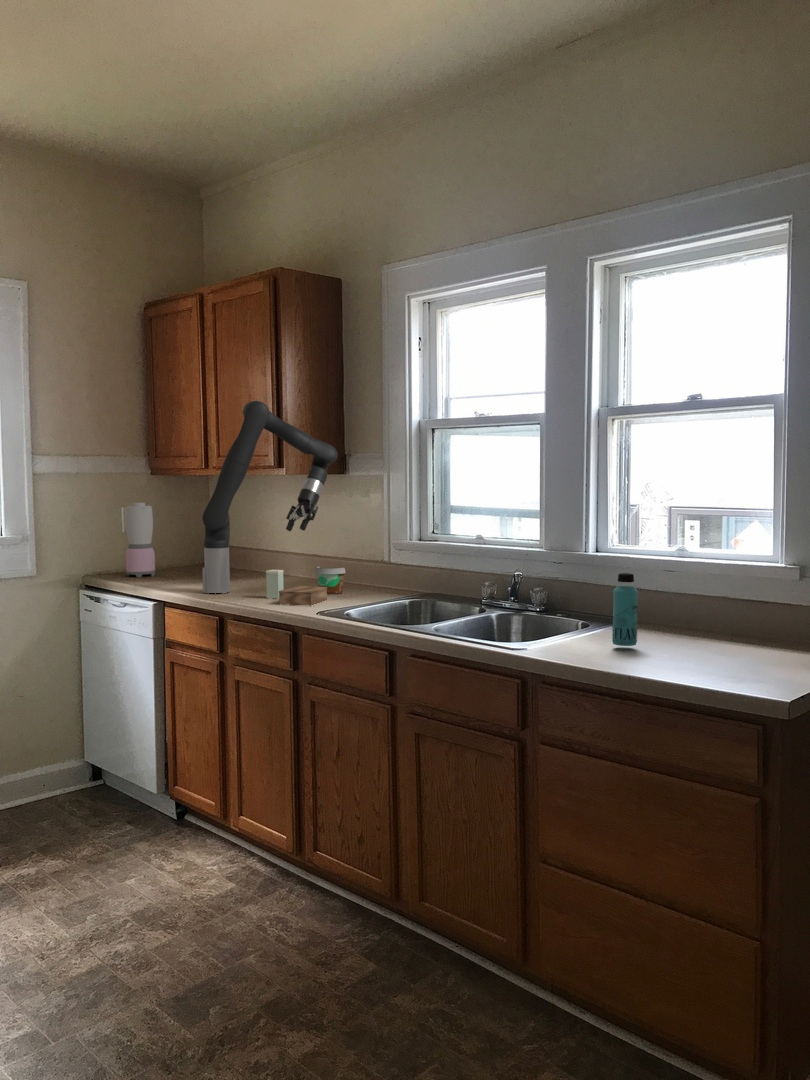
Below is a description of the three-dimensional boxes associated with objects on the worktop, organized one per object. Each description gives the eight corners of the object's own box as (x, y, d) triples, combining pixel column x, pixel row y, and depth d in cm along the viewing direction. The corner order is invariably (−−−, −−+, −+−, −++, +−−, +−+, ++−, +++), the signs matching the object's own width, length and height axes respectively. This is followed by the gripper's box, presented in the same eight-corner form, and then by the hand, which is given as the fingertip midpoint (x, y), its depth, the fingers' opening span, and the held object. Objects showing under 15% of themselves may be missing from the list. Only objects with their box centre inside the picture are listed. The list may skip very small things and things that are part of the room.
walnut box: (278, 605, 307) (278, 591, 307) (296, 599, 321) (295, 585, 320) (311, 607, 303) (311, 592, 303) (327, 601, 317) (327, 587, 317)
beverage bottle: (610, 650, 229) (611, 574, 228) (613, 645, 236) (614, 571, 234) (635, 652, 227) (637, 575, 225) (638, 647, 233) (640, 572, 232)
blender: (160, 575, 389) (158, 502, 386) (134, 578, 380) (132, 503, 378) (144, 572, 400) (142, 501, 398) (118, 574, 392) (116, 502, 389)
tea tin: (266, 598, 321) (265, 571, 320) (271, 596, 326) (271, 569, 325) (278, 599, 320) (278, 571, 319) (283, 597, 324) (283, 569, 323)
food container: (309, 594, 332) (308, 567, 331) (318, 592, 337) (318, 565, 337) (337, 596, 326) (336, 569, 325) (345, 594, 332) (345, 567, 331)
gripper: (292, 489, 340) (276, 525, 335) (315, 486, 330) (299, 524, 324) (306, 498, 345) (290, 535, 339) (329, 496, 335) (313, 534, 329)
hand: (295, 530), depth 332 cm, fingers open, 8 cm apart
